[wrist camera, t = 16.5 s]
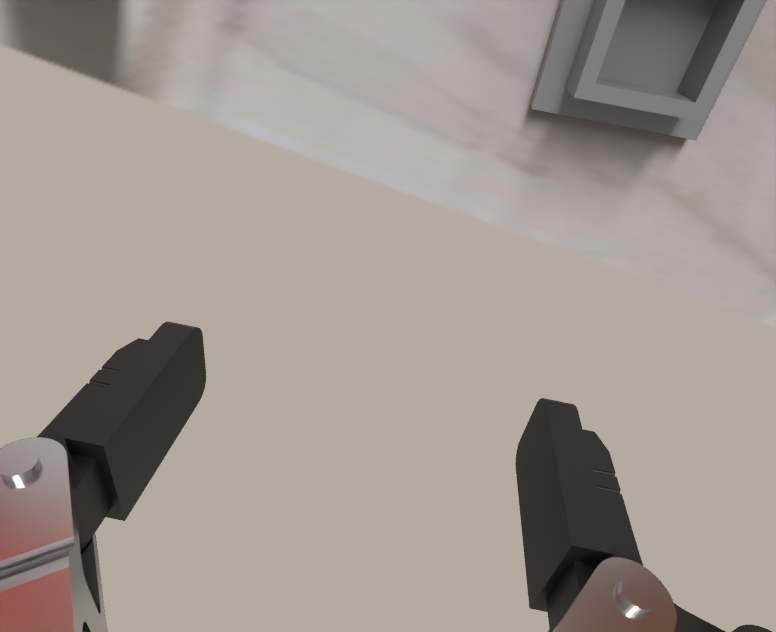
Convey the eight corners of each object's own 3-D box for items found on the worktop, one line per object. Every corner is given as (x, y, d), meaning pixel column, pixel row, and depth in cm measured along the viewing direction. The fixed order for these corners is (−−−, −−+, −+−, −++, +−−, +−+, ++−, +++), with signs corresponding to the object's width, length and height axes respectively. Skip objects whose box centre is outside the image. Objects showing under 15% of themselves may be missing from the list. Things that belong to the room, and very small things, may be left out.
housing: (529, 104, 37) (537, 120, 33) (591, -102, 30) (610, -114, 26) (688, 134, 37) (716, 154, 33) (787, -67, 30) (837, -73, 26)
